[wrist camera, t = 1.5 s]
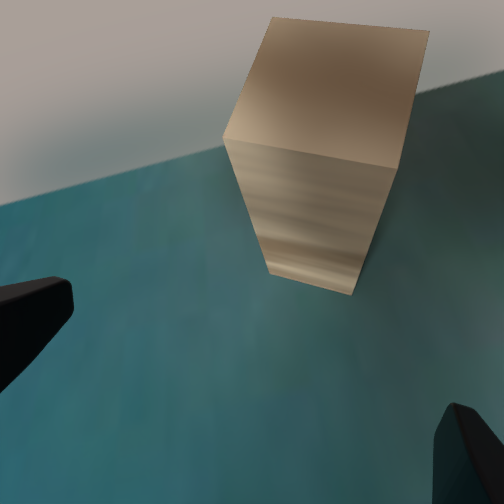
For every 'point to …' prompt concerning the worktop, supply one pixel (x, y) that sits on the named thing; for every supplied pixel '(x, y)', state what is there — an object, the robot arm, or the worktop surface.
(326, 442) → the worktop surface
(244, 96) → the maple block
